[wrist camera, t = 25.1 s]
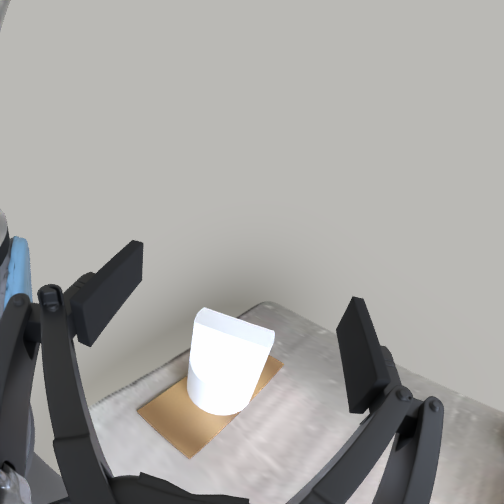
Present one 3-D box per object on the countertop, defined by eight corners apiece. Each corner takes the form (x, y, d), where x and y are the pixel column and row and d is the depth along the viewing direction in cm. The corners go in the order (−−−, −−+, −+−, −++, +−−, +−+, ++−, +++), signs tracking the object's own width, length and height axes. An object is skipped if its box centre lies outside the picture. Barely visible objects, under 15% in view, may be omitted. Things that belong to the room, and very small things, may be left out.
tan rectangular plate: (189, 459, 25) (189, 458, 25) (136, 411, 29) (136, 410, 29) (283, 365, 43) (284, 363, 42) (238, 337, 46) (239, 335, 46)
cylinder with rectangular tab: (176, 399, 32) (180, 337, 27) (201, 356, 40) (211, 293, 35) (241, 424, 31) (265, 368, 26) (257, 376, 39) (280, 316, 34)
